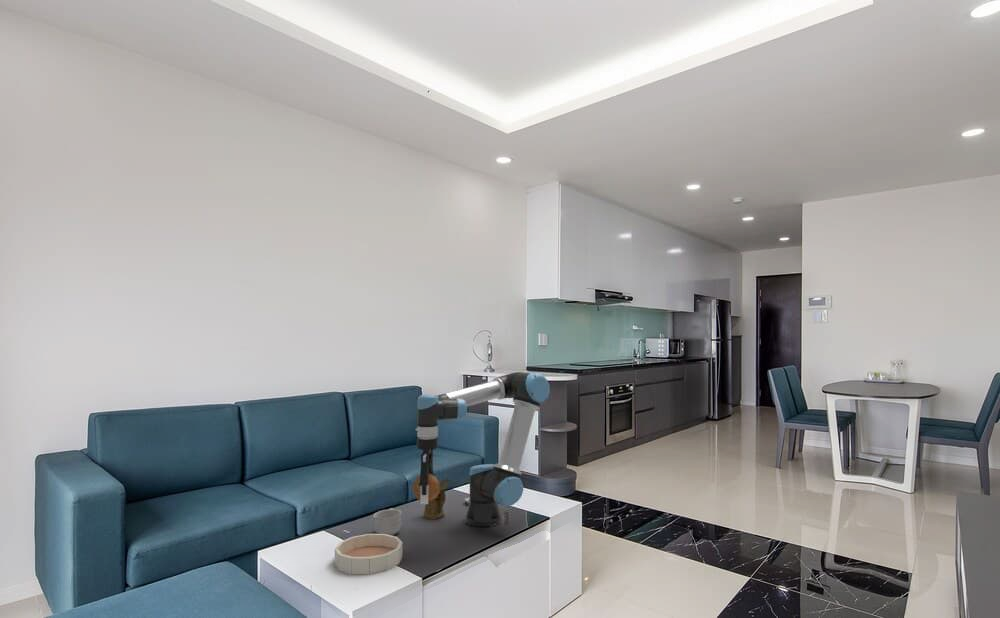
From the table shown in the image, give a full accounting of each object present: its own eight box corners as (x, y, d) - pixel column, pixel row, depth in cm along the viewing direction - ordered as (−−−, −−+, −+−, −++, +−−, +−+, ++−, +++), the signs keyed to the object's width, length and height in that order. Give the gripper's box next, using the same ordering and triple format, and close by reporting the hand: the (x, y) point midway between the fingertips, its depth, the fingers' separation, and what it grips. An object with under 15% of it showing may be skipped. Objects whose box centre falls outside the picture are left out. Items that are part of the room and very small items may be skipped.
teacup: (394, 539, 202) (395, 518, 203) (368, 537, 204) (368, 516, 205) (408, 527, 216) (408, 507, 216) (383, 525, 218) (383, 505, 218)
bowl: (406, 547, 194) (406, 533, 194) (394, 574, 172) (394, 558, 172) (346, 547, 194) (346, 533, 194) (326, 574, 172) (326, 558, 172)
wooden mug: (440, 523, 220) (440, 479, 221) (419, 516, 229) (419, 474, 230) (455, 517, 227) (456, 475, 228) (434, 511, 236) (434, 470, 237)
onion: (440, 497, 198) (440, 470, 199) (438, 505, 188) (439, 476, 189) (414, 497, 198) (414, 470, 198) (411, 505, 188) (411, 477, 189)
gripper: (421, 432, 206) (420, 490, 204) (411, 443, 183) (410, 508, 182) (441, 432, 206) (440, 490, 204) (433, 443, 183) (432, 509, 182)
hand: (426, 499), depth 193 cm, fingers closed on onion, 10 cm apart
